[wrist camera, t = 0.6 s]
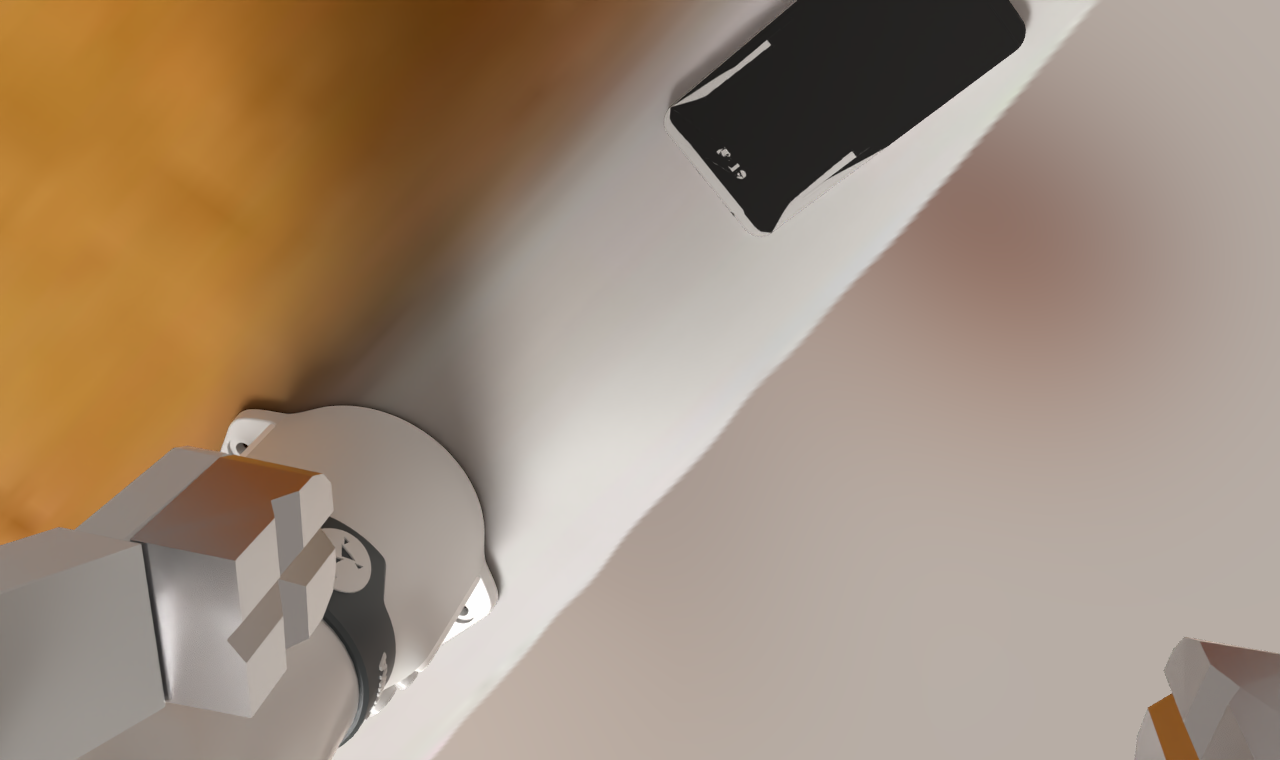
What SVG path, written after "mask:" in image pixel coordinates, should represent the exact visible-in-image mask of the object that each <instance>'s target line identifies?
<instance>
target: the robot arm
mask: <svg viewBox="0 0 1280 760" xmlns="http://www.w3.org/2000/svg"><path fill="white" fill-rule="evenodd" d="M243 443H245V444H246V445H247V446H248V447H247V448H245V447H244V445H243ZM484 535H485V530H484V520H483V514H482V510H481V506H480V503H479V500H478V497H477V495H476V492H475V490H474V488H473V486H472V484H471V482H470V480H469V478H468V477H467V475H466V474H465V472H464V471H463V469H462V468H461V467H460V465H459V464H458V463H457V461H456V460H455V459H454V458H453V457H452V456H451V454H450V453H449V452H448V451H447V450H446V449H445V448H444V447H443V446H441V445H440V444H439V443H438V442H437V441H436V440H434V439H433V438H432V437H431V436H429V435H428V434H426V433H425V432H424V431H422V430H421V429H419V428H417V427H416V426H414V425H412V424H410V423H409V422H407V421H405V420H402V419H400V418H398V417H396V416H393V415H391V414H388V413H385V412H382V411H378V410H374V409H370V408H365V407H358V406H328V407H322V408H317V409H313V410H309V411H305V412H301V413H295V414H285V413H279V412H273V411H267V410H259V409H249V410H244V411H242V412H241V413H239V414H238V416H237V417H236V418H235V419H234V420H233V422H232V423H231V424H230V426H229V429H228V431H227V434H226V437H225V440H224V442H223V445H222V448H221V451H220V452H218V451H212V450H207V449H202V448H196V447H191V446H183V447H176V448H173V449H172V450H170V451H169V452H168V453H167V454H166V455H164V456H163V457H162V458H161V459H159V460H158V461H157V462H156V463H155V464H153V465H152V466H151V467H150V468H149V469H147V470H146V471H145V472H144V473H143V474H141V475H140V476H139V477H138V478H137V479H135V480H134V481H133V482H132V483H130V484H129V485H128V486H127V487H126V488H124V489H123V490H122V491H121V492H120V493H118V494H117V495H116V496H115V497H114V498H112V499H111V500H110V501H109V502H108V503H106V504H105V505H104V506H103V507H101V508H100V509H99V510H98V511H97V512H95V513H94V514H93V515H92V516H91V517H89V518H88V519H87V520H86V521H85V522H83V523H82V524H81V525H80V526H79V527H77V528H76V529H75V530H71V529H66V528H60V527H58V528H55V529H52V530H49V531H45V532H42V533H39V534H36V535H33V536H29V537H26V538H23V539H20V540H16V541H13V542H10V543H7V544H4V545H0V760H331V759H332V757H333V756H334V754H335V752H336V750H337V749H338V748H339V747H340V746H342V745H343V744H345V743H346V742H347V741H348V740H349V739H351V738H352V737H353V736H354V734H355V733H356V732H357V731H358V729H359V727H360V726H361V725H362V723H363V721H366V720H367V718H368V717H369V715H370V716H374V715H375V714H377V713H378V712H379V711H380V710H382V709H383V708H384V707H385V706H386V705H387V703H388V702H389V701H390V700H391V698H392V697H393V695H394V694H395V692H396V689H397V688H399V689H400V690H404V689H406V688H407V687H408V686H409V685H410V684H411V683H412V682H413V681H414V680H415V678H416V677H417V675H418V672H422V671H423V670H424V669H425V668H426V667H427V666H428V665H429V663H430V662H431V660H432V659H433V657H434V656H435V654H436V652H437V651H438V649H439V647H440V646H441V645H443V644H444V643H446V642H448V641H449V640H451V639H452V638H454V637H455V636H457V635H458V634H460V633H461V632H463V631H465V630H466V629H468V628H469V627H471V626H472V625H474V624H475V623H477V622H479V621H480V620H482V619H483V618H485V617H486V616H487V615H489V614H490V612H491V611H492V610H493V608H494V607H495V605H496V604H497V602H498V591H497V587H496V584H495V582H494V579H493V577H492V575H491V572H490V570H489V568H488V566H487V564H486V561H485V554H484ZM464 606H466V607H467V608H468V609H466V608H464ZM1164 673H1165V675H1166V678H1167V681H1168V683H1169V686H1170V688H1171V691H1172V694H1170V695H1169V696H1167V697H1165V698H1163V699H1162V700H1160V701H1159V702H1157V703H1155V704H1153V705H1152V706H1150V707H1148V709H1147V711H1146V714H1145V717H1144V719H1143V722H1142V724H1141V727H1140V730H1139V732H1138V735H1137V742H1136V751H1135V760H1280V654H1279V653H1274V652H1268V651H1262V650H1257V649H1251V648H1245V647H1239V646H1234V645H1228V644H1223V643H1217V642H1211V641H1206V640H1200V639H1195V638H1189V637H1184V638H1183V639H1182V640H1181V641H1180V642H1179V643H1178V645H1177V646H1176V647H1175V648H1174V649H1173V651H1172V653H1171V655H1170V658H1169V660H1168V662H1167V664H1166V667H1165V669H1164ZM396 687H397V688H396Z"/></svg>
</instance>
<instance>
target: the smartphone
mask: <svg viewBox="0 0 1280 760" xmlns="http://www.w3.org/2000/svg"><path fill="white" fill-rule="evenodd" d="M1025 34H1026V29H1025V24H1024V22H1023V20H1022V19H1021V17H1020V16H1019V14H1018V13H1017V11H1016V10H1015V8H1014V7H1013V6H1012V4H1011V3H1010V1H1009V0H796V1H795V2H793V3H792V4H791V5H790V6H789V7H787V8H786V9H785V10H784V11H783V12H782V13H780V14H779V15H778V16H777V17H776V18H774V19H773V20H772V21H771V22H770V23H769V24H767V25H766V26H765V27H764V28H763V29H761V30H760V31H759V32H758V33H757V34H756V35H754V36H753V37H752V38H751V39H750V40H748V41H747V42H746V43H745V44H744V45H743V46H741V47H740V48H739V49H738V50H737V51H735V52H734V53H733V54H732V55H731V56H730V57H728V58H727V59H726V60H725V61H724V62H722V63H721V64H720V65H719V66H718V67H717V68H715V69H714V70H713V71H712V72H711V73H709V74H708V75H707V76H706V77H705V78H704V79H702V80H701V81H700V82H699V83H698V84H696V85H695V86H694V87H693V88H692V89H691V90H689V91H688V92H687V93H686V94H685V95H683V96H682V97H681V98H680V99H679V100H678V101H676V102H675V103H674V104H673V105H672V106H671V107H670V108H669V109H668V111H667V112H666V114H665V117H664V127H665V130H666V132H667V134H668V135H669V136H670V138H671V139H672V140H673V141H674V142H675V144H676V145H677V146H678V147H679V149H680V150H681V151H682V152H683V154H684V155H685V156H686V157H687V159H688V160H689V161H690V162H691V164H692V165H693V166H694V167H695V168H696V170H697V171H698V172H699V173H700V175H701V176H702V177H703V178H704V180H705V181H706V182H707V183H708V185H709V186H710V187H711V188H712V189H713V191H714V192H715V193H716V194H717V196H718V197H719V198H720V199H721V201H722V202H723V203H724V204H725V206H726V207H727V208H728V209H729V210H730V212H731V213H732V214H733V215H734V217H735V218H736V219H737V220H738V222H739V223H740V224H741V225H742V227H743V228H744V229H745V230H746V231H747V232H748V233H749V234H751V235H753V236H757V237H763V236H767V235H769V234H771V233H772V232H774V231H775V230H776V229H778V228H779V227H780V226H782V225H783V224H784V223H786V222H787V221H788V220H790V219H791V218H792V217H794V216H795V215H796V214H798V213H799V212H800V211H802V210H803V209H804V208H806V207H807V206H808V205H810V204H811V203H812V202H814V201H815V200H816V199H818V198H819V197H820V196H822V195H823V194H824V193H826V192H827V191H828V190H830V189H831V188H833V187H834V186H835V185H837V184H838V183H839V182H841V181H842V180H843V179H845V178H846V177H847V176H849V175H850V174H851V173H853V172H854V171H855V170H857V169H858V168H859V167H861V166H862V165H863V164H865V163H866V162H867V161H869V160H870V159H871V158H873V157H874V156H875V155H877V154H878V153H879V152H881V151H882V150H883V149H885V148H886V147H887V146H889V145H890V144H891V143H893V142H894V141H895V140H897V139H898V138H899V137H901V136H902V135H903V134H905V133H906V132H908V131H909V130H910V129H912V128H913V127H914V126H916V125H917V124H918V123H920V122H921V121H922V120H924V119H925V118H926V117H928V116H929V115H930V114H932V113H933V112H934V111H936V110H937V109H938V108H940V107H941V106H942V105H944V104H945V103H946V102H948V101H949V100H950V99H952V98H953V97H954V96H956V95H957V94H958V93H960V92H961V91H962V90H964V89H965V88H966V87H968V86H969V85H970V84H972V83H973V82H974V81H976V80H977V79H979V78H980V77H981V76H983V75H984V74H985V73H987V72H988V71H989V70H991V69H992V68H993V67H995V66H996V65H997V64H999V63H1000V62H1001V61H1003V60H1004V59H1005V58H1007V57H1008V56H1009V55H1011V54H1012V53H1013V52H1015V51H1016V50H1017V49H1018V48H1019V47H1020V46H1021V44H1022V43H1023V41H1024V38H1025Z"/></svg>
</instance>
